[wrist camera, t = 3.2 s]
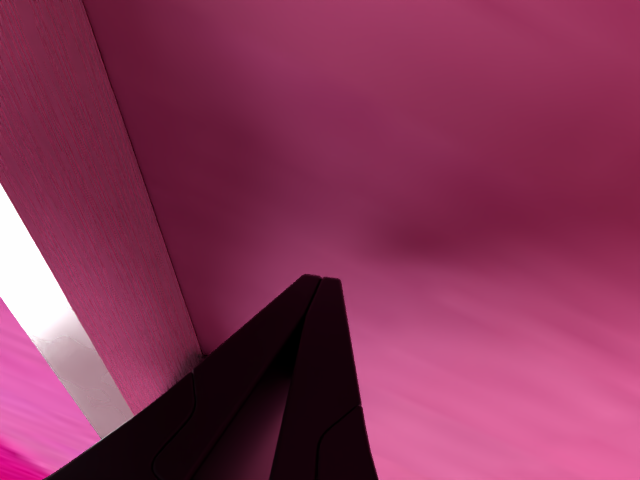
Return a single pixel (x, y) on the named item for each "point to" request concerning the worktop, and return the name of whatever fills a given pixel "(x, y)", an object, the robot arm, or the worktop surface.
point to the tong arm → (82, 222)
